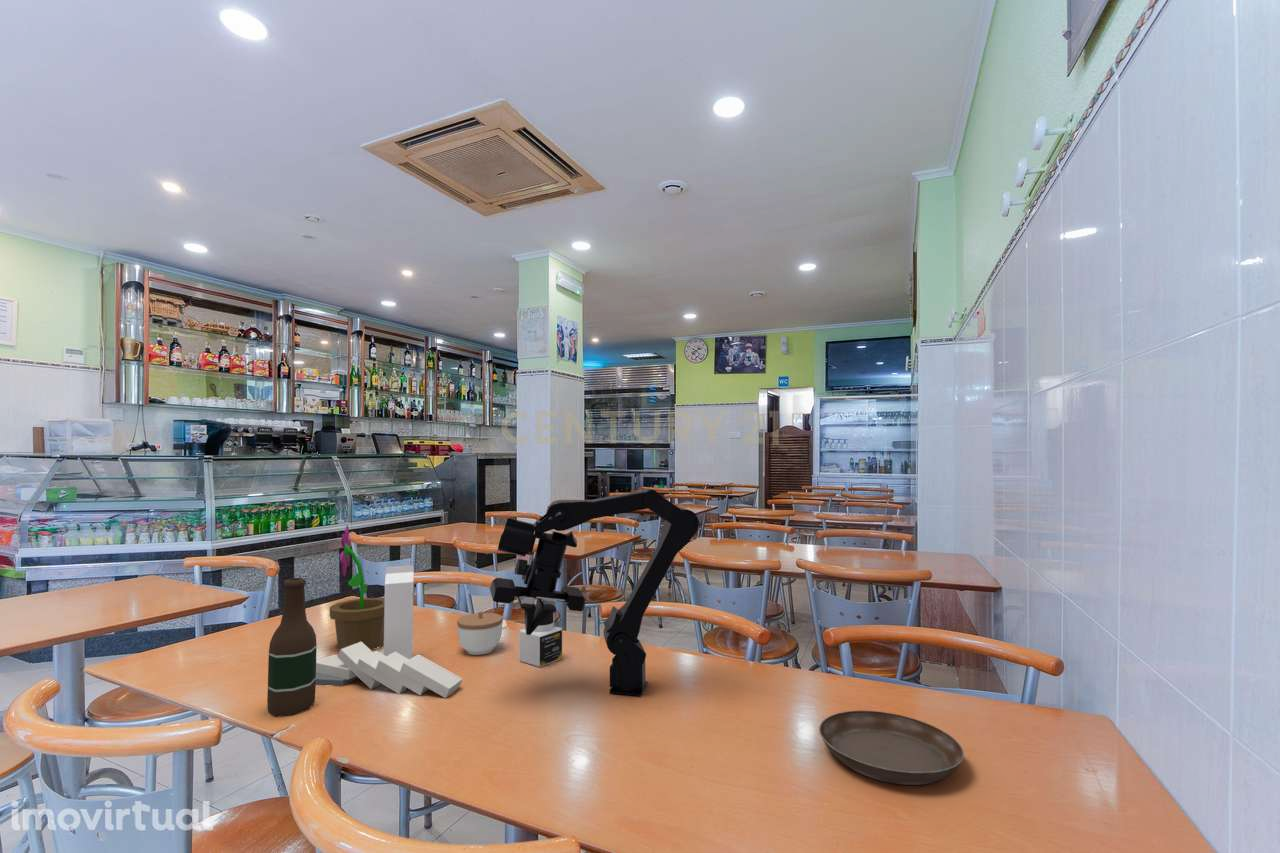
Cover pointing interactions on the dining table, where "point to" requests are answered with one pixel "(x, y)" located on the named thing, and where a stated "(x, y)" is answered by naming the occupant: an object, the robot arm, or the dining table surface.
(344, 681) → the domino
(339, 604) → the flowerpot
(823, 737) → the plant saucer
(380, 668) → the domino
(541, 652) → the medicine bottle
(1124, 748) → the dining table surface
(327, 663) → the domino
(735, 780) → the dining table surface
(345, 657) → the domino
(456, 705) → the dining table surface
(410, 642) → the milk
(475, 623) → the lidded jar
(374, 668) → the domino
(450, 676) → the domino
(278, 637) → the beer bottle
